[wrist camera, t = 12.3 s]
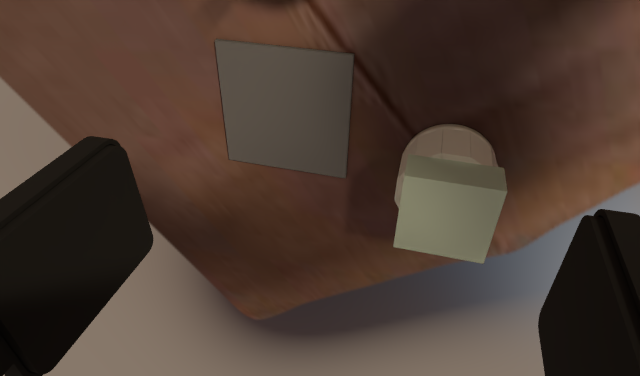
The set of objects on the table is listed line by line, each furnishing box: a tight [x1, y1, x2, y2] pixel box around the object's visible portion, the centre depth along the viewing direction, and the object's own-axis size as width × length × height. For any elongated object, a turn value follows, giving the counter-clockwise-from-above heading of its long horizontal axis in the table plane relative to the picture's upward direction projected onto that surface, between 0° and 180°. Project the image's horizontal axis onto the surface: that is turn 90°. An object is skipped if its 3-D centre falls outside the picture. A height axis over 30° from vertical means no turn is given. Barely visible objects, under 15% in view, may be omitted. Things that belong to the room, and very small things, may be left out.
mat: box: [215, 39, 354, 178], centre depth 40 cm, size 12×12×1 cm
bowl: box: [394, 124, 498, 208], centre depth 37 cm, size 8×8×5 cm
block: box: [393, 154, 507, 264], centre depth 34 cm, size 7×7×3 cm
